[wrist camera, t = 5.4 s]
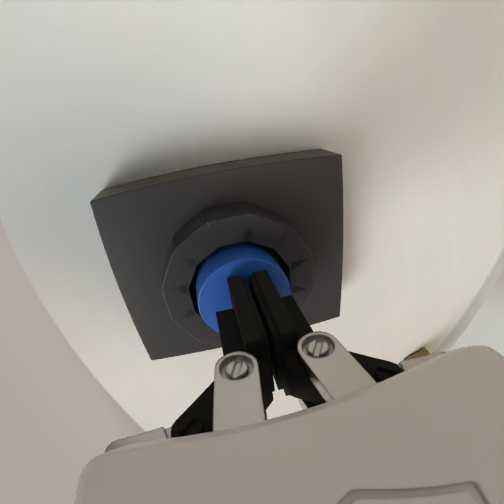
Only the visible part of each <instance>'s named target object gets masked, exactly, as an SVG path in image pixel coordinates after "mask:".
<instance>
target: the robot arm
mask: <svg viewBox="0 0 504 504" xmlns="http://www.w3.org/2000/svg"><path fill="white" fill-rule="evenodd" d="M227 282H228V288H229V293H230V298H231V302H232V307H233V308H231V309H226V310H222V311H217V312H216V318H217V323H218V328H219V334H220V339H221V344H222V349H223V354H224V356H223V357H221V358H220V359H219V360H218V362H217V363H216V365H215V373H214V381H213V382H212V383H211V385H210V386H209V387H208V388H207V389H206V390H205V391H204V392H203V393H202V394H201V395H200V396H199V397H198V398H197V399H196V400H195V401H194V403H193V404H192V405H191V406H190V407H189V408H188V409H187V410H186V411H185V412H184V413H183V414H182V415H181V416H180V417H179V418H178V419H177V420H176V421H175V423H174V424H173V425H172V427H170V428H167V429H164V427H161V428H157V429H154V430H151V431H148V432H144V433H141V434H137V435H134V436H130V437H127V438H123V439H119V440H116V441H114V442H112V443H111V444H110V445H109V446H108V447H107V448H106V451H105V453H103V454H101V455H99V456H97V457H95V458H94V459H92V460H91V461H90V462H89V463H88V464H86V466H85V467H84V469H83V470H82V472H81V475H80V478H79V481H78V485H77V491H76V499H75V504H504V357H503V356H502V355H501V354H500V353H498V352H497V351H495V350H494V349H492V348H490V347H487V346H468V347H462V348H459V349H455V350H452V351H449V352H438V353H435V354H431V355H427V356H423V357H418V358H414V359H410V360H405V361H401V362H400V364H399V365H397V364H395V363H392V362H389V361H385V360H381V359H377V358H373V357H369V356H365V355H361V354H357V353H353V352H349V351H347V350H346V349H345V347H344V346H343V345H342V344H341V343H340V342H339V341H338V340H337V339H336V338H335V337H334V336H333V335H331V334H329V333H326V332H321V331H318V332H313V330H312V329H311V327H310V325H309V324H308V322H307V320H306V318H305V317H304V315H303V313H302V311H301V310H300V308H299V306H298V305H297V303H296V301H295V299H294V298H293V296H292V295H288V296H283V297H280V295H279V293H278V291H277V289H276V287H275V285H274V283H273V281H272V280H271V278H270V276H269V274H268V272H267V270H261V271H256V272H253V276H250V277H249V282H250V289H251V291H250V289H249V286H248V283H247V281H246V278H240V275H238V276H233V277H228V278H227ZM273 376H274V379H275V382H276V384H277V387H278V389H279V390H280V389H284V392H285V394H286V396H287V395H291V396H293V397H296V398H298V400H299V403H300V405H301V406H302V408H303V410H301V411H298V412H294V413H291V414H287V415H284V416H280V417H276V418H273V419H269V420H267V412H266V409H267V408H268V406H269V405H270V404H271V402H272V401H273V394H272V392H273V391H275V388H274V380H273Z"/></svg>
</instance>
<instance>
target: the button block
mask: <svg viewBox="0 0 504 504" xmlns="http://www.w3.org/2000/svg"><path fill="white" fill-rule="evenodd" d="M91 206H92V210H93V213H94V217H95V220H96V223H97V226H98V230H99V233H100V236H101V239H102V242H103V245H104V248H105V251H106V254H107V257H108V259H109V262H110V265H111V268H112V270H113V273H114V276H115V278H116V281H117V284H118V286H119V289H120V291H121V294H122V296H123V299H124V301H125V303H126V306H127V308H128V311H129V313H130V315H131V318H132V320H133V322H134V324H135V327H136V329H137V331H138V333H139V335H140V337H141V340H142V342H143V344H144V346H145V348H146V350H147V352H148V354H149V356H150V358H151V360H156V359H162V358H168V357H174V356H179V355H185V354H190V353H195V352H200V351H205V350H210V349H215V348H220V347H222V344H221V339H220V334H219V332H217V331H215V330H214V329H212V328H211V327H210V326H208V325H207V324H206V322H205V321H204V320H203V318H202V317H201V315H200V312H199V308H198V301H197V292H196V275H197V271H198V269H199V266H200V265H201V263H202V261H203V260H204V259H205V258H206V257H208V256H209V255H210V254H211V253H213V252H214V251H215V250H216V249H217V248H219V247H222V246H226V245H231V244H236V243H241V242H251V243H255V244H257V245H260V246H262V247H264V248H265V249H267V250H268V251H269V252H270V253H271V254H272V255H273V256H274V258H275V259H276V261H277V263H278V264H279V266H280V267H281V269H282V270H283V272H284V274H285V275H286V277H287V279H288V281H289V285H290V295H292V296H293V298H294V299H295V301H296V303H297V305H298V306H299V308H300V310H301V311H302V313H303V315H304V317H305V318H306V320H307V322H308V324H309V325H312V324H316V323H319V322H322V321H326V320H329V319H332V318H336V317H339V316H340V302H341V284H342V259H343V180H342V156H341V155H340V154H337V153H334V152H330V151H327V150H323V149H319V150H310V151H300V152H292V153H284V154H276V155H269V156H262V157H255V158H248V159H242V160H236V161H230V162H224V163H218V164H213V165H207V166H202V167H197V168H192V169H187V170H182V171H178V172H173V173H168V174H164V175H159V176H155V177H151V178H147V179H143V180H138V181H134V182H130V183H127V184H123V185H119V186H115V187H111V188H108V189H104V190H102V191H101V192H100V193H99V194H98V195H97V196H96V197H95V198H94V199H93V200H92V201H91Z"/></svg>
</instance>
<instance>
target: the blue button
mask: <svg viewBox="0 0 504 504" xmlns="http://www.w3.org/2000/svg"><path fill="white" fill-rule="evenodd" d="M261 270H267V272H268V274H269V276H270V278H271V280H272V281H273V283H274V285H275V287H276V289H277V291H278V293H279V295H280V297H283V296H288V295H290V285H289V281H288V279H287V277H286V275H285V274H284V272H283V270H282V269H281V267H280V266H279V264H278V263H277V261H276V259H275V258H274V256H273V255H272V254H271V253H270V252H269V251H268V250H267V249H265V248H264V247H262V246H260V245H257V244H255V243H251V242H241V243H236V244H231V245H226V246H222V247H219V248H217V249H216V250H215V251H214V252H213V253H211V254H210V255H209V256H208V257H206V258H205V259H204V260H203V261H202V263H201V265H200V266H199V269H198V271H197V275H196V292H197V301H198V308H199V312H200V315H201V317H202V318H203V320H204V321H205V322H206V324H207V325H208V326H210V327H211V328H212V329H214V330H215V331H217V332H219V328H218V323H217V318H216V312H217V311H222V310H226V309H231V308H233V307H232V302H231V298H230V293H229V288H228V282H227V278H228V277H233V276H238V275H240V278H246V281H247V283H248V286H249V289H250V282H249V277H250V276H253V272H256V271H261ZM250 291H251V289H250Z"/></svg>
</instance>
